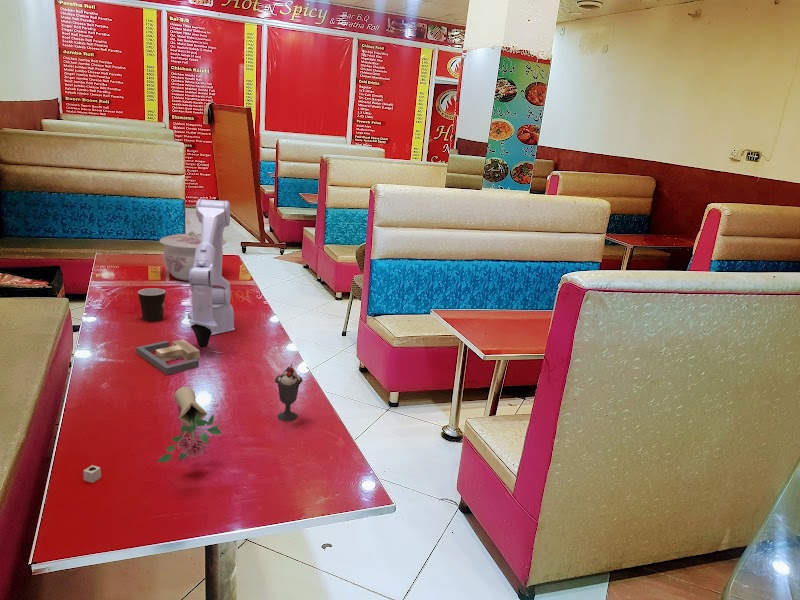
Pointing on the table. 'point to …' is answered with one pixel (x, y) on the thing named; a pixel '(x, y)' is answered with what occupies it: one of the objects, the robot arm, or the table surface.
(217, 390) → the table surface
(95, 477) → the beige hollow cube
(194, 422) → the flower vase
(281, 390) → the sundae
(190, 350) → the T block
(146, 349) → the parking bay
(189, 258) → the chamber pot
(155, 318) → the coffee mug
